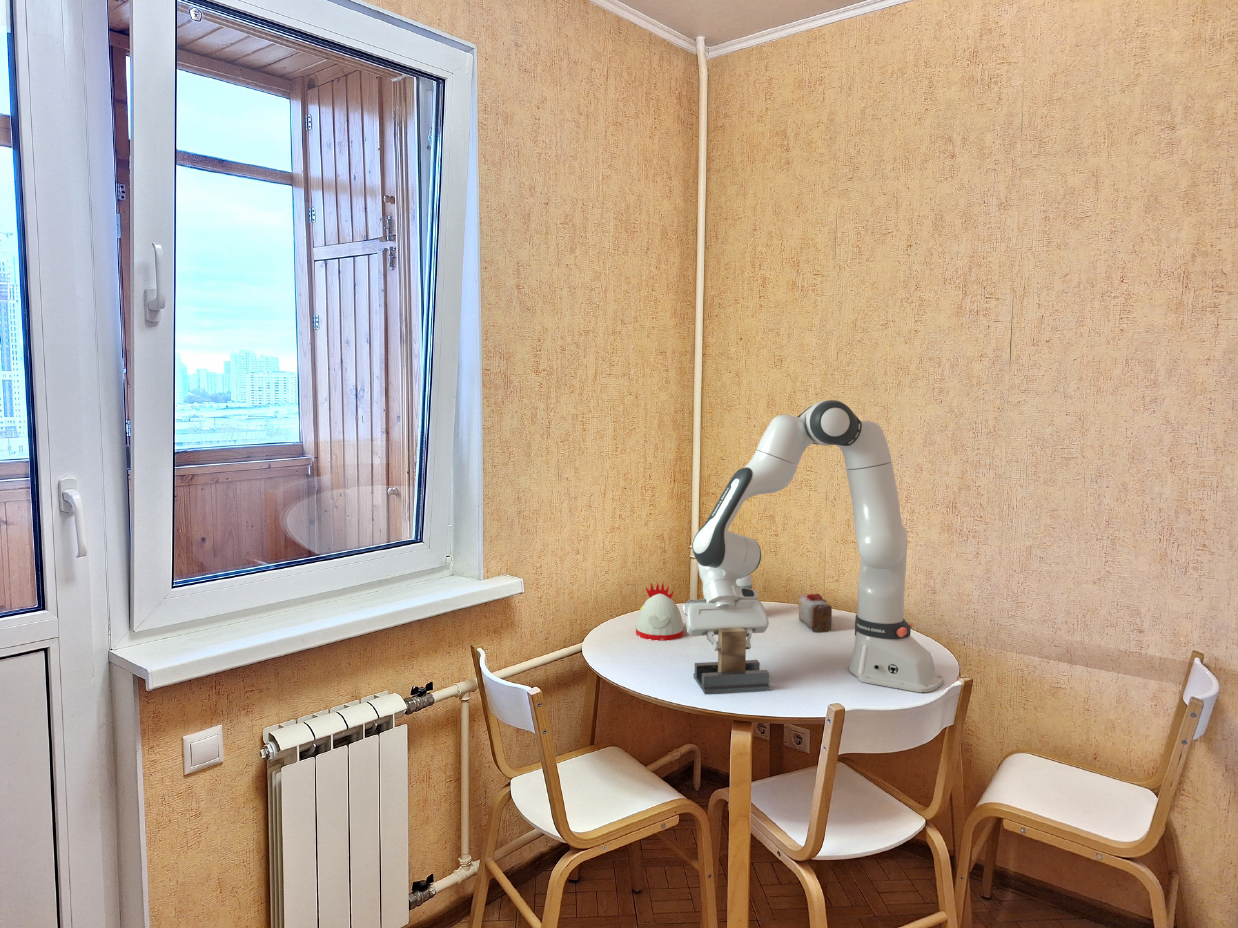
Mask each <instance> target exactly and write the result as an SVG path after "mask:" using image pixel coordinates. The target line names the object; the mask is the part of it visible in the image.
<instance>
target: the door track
mask: <svg viewBox="0 0 1238 928" xmlns="http://www.w3.org/2000/svg"><path fill="white" fill-rule="evenodd" d="M760 665H761V664H760V661H759V660H758V659H747V660H746V662H745V671H733V672H718V661H710V662H708V661H705V662H694V673H693V679H694V680H695V682H696V683H697V684H698V686H699V687H700V689H701V691H702V693H703V694H704V695H714V694H715V695H716V694H718V695H719V694H730V693H731V694H733V693H750V692H766V690H770V691H771V685H770V672H769V671H768V670H767V669H760V668H761V667H760Z"/></svg>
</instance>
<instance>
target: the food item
mask: <svg viewBox="0 0 1238 928" xmlns="http://www.w3.org/2000/svg"><path fill="white" fill-rule="evenodd" d="M823 595H824V594H822V595H821V594H820V593H814V594H813V593H805V594H800V595H798V596H799V597H798V604H797V606H798V607H797V609H798V620H799V621H801V623H803V624H804V625H806V627H807V628H809V629H810V630H811V631H812V632H814V633H829V631H830V632H831V630H832V624H833V623H832V622H833V621H832V620H833V619H832V615H833V610H832V609H833V608H832V607H833V606H832V605H829V603H828V602H827V600H826V599H823Z"/></svg>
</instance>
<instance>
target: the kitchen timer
mask: <svg viewBox="0 0 1238 928" xmlns="http://www.w3.org/2000/svg"><path fill="white" fill-rule="evenodd" d="M659 586H660V585H659V582H657V583H656V588H655V589H654V585H653V583H652V582H651V583H650V589H648V587H647V586H646V587H645V590H646V593H647V595H648V597H649V598H648V599H646V600H645V602H644V603H643V605H642V606H641V607H640V608H639V613H638V616H637V621H636V625H635V634H636V636H637V637H639V636H640V637H639V638H641V639H645V640H648V639H651V640H650V641H655V640H658V641H657V642H659V641H660V642H661V641H662V642H667V640H668V641H674V640H678V639H680V638H682V637H683V636H684V628H685V627H684V622H683V618H682V614H681V611H680V609H679V607H678V605H677V604H676V602H675V600H673V599H672V597H673V595H674V592H675V591H674V590H673V591H671V593H670V594H668V593H669V589H670V587H669V586H667V587H666V589H665V586H664V582H662V584H661V588H660V587H659Z"/></svg>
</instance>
